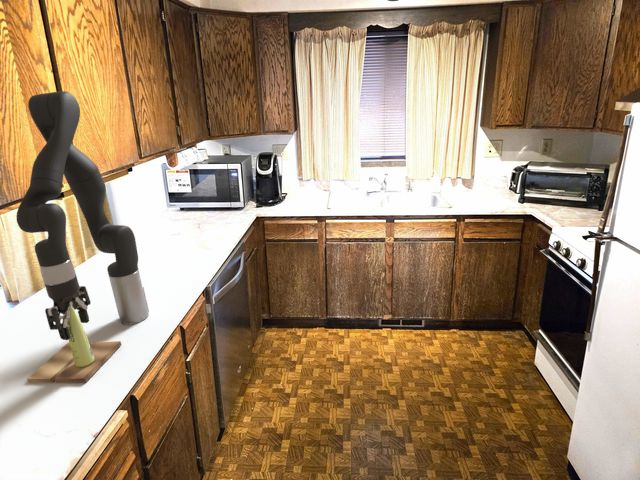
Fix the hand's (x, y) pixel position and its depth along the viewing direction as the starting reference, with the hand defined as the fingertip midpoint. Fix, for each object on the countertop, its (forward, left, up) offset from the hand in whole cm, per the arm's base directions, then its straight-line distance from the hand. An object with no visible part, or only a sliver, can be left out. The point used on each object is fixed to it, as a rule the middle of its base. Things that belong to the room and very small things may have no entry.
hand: (76, 330), depth 123 cm
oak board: (-2, -9, -12) cm, 15 cm away
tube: (0, 0, -11) cm, 11 cm away
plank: (-2, 0, -12) cm, 12 cm away
